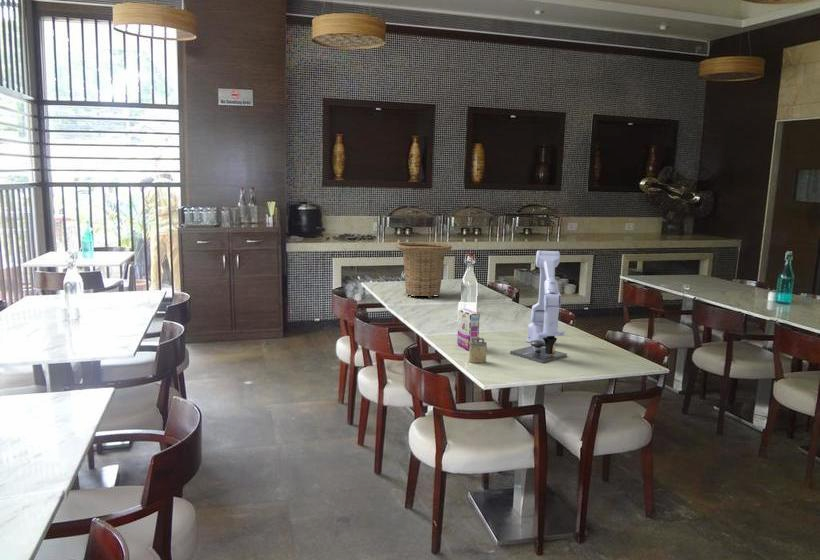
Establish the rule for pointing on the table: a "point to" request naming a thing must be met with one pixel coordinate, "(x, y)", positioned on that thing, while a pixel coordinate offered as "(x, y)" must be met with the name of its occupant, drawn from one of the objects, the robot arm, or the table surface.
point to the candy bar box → (467, 327)
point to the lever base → (537, 354)
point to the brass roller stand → (541, 345)
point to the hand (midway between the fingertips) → (548, 353)
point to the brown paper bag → (477, 351)
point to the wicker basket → (423, 266)
